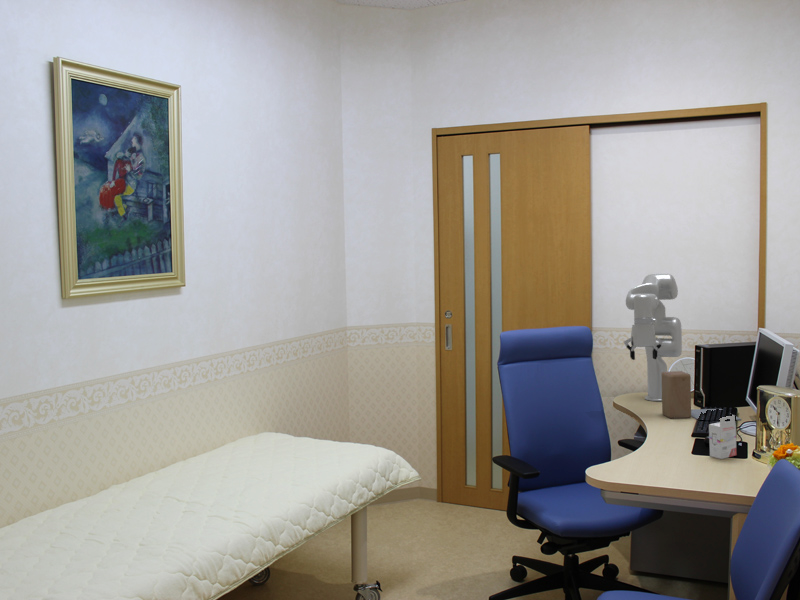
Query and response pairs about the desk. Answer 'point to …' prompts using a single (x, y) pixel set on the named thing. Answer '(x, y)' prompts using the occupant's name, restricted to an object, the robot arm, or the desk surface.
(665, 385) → the wooden block
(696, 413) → the mat
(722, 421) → the ink cartridge box
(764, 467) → the desk surface
